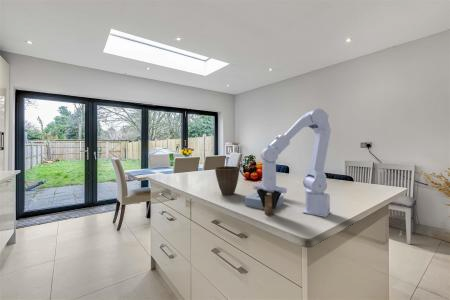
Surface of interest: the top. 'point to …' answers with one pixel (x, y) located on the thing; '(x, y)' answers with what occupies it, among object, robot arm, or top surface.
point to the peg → (268, 205)
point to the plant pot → (227, 179)
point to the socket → (259, 201)
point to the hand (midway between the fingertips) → (269, 207)
